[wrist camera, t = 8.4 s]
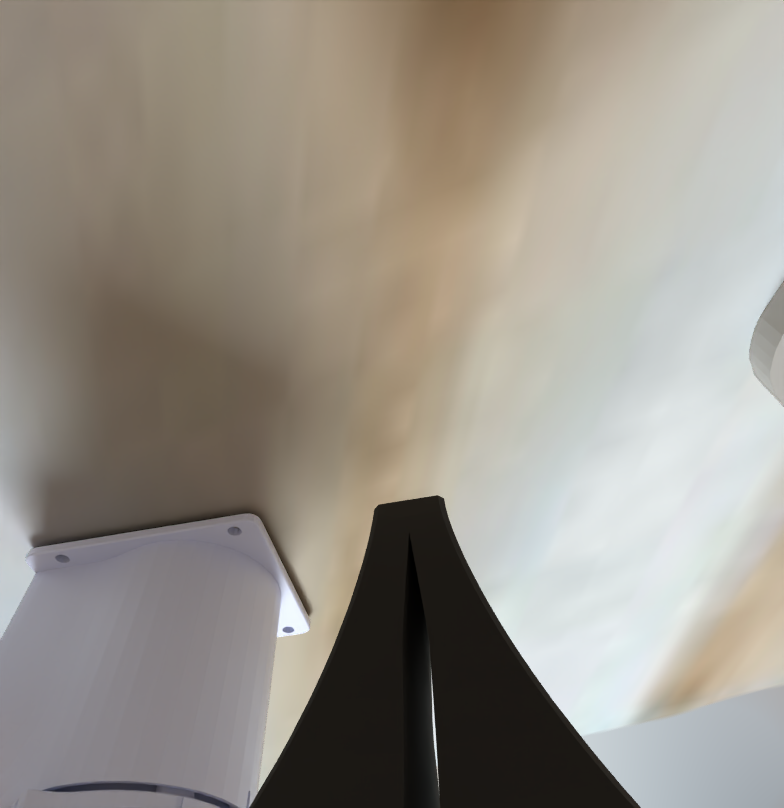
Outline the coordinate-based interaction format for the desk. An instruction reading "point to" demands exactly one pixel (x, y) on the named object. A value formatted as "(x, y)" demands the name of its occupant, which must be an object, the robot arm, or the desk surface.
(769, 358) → the adjustable wrench
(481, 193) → the desk surface
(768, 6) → the desk surface
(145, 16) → the desk surface
